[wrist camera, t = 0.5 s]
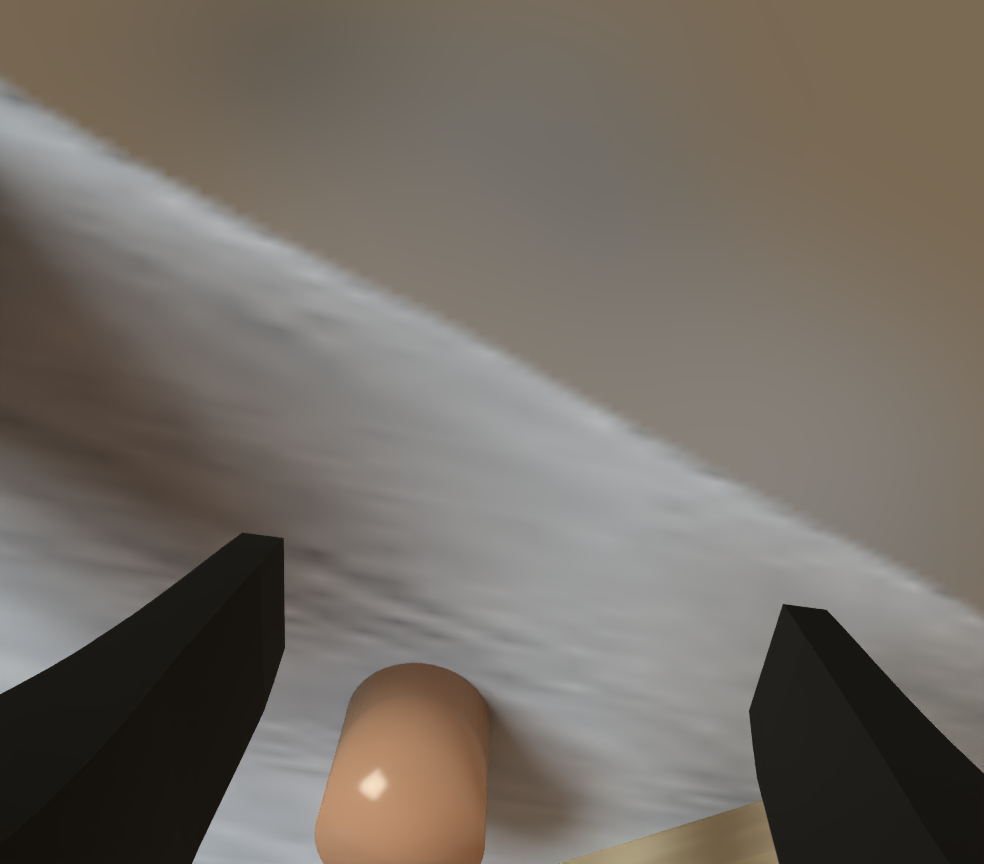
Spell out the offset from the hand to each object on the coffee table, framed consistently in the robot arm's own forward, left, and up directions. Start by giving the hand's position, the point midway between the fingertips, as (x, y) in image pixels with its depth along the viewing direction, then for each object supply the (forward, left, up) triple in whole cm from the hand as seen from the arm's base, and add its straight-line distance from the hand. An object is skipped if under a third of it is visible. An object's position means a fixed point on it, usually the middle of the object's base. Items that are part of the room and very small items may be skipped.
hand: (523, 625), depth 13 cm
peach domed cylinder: (-7, -9, -11) cm, 16 cm away
